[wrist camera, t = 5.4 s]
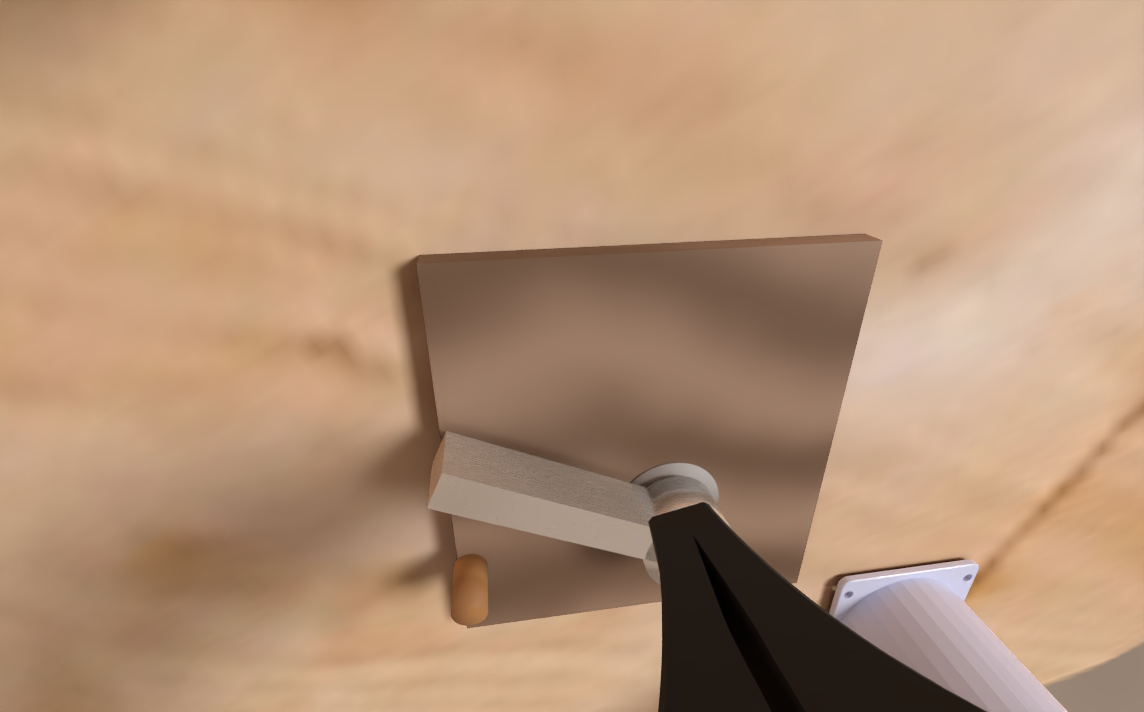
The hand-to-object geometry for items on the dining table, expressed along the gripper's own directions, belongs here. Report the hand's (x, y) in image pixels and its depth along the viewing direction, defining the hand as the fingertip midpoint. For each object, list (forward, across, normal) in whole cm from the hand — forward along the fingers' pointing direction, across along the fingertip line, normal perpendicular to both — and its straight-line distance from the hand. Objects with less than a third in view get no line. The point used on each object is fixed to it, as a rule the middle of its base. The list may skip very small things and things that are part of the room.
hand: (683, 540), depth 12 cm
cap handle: (+8, +2, +5) cm, 9 cm away
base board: (+9, -1, +4) cm, 10 cm away
